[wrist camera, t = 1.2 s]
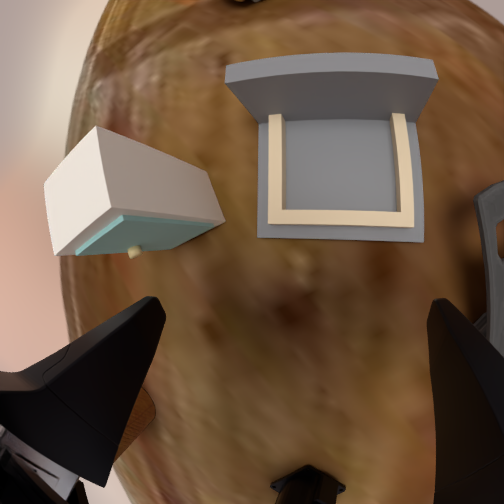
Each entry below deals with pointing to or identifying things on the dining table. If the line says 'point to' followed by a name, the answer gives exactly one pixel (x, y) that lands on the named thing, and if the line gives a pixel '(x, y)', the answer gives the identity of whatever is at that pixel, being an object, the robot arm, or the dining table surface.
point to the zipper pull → (492, 263)
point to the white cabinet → (126, 199)
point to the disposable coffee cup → (137, 421)
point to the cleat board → (337, 143)
